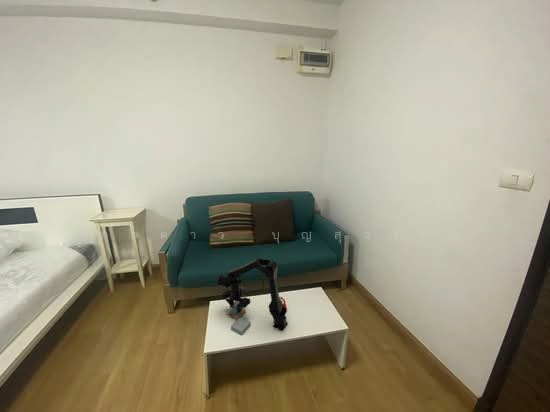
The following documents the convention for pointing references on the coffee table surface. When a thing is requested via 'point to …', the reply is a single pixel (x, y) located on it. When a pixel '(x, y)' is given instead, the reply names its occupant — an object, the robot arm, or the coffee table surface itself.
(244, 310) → the stand
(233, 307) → the housing
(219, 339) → the coffee table surface
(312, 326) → the coffee table surface
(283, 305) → the alarm clock
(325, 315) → the coffee table surface
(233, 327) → the stand
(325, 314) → the coffee table surface
